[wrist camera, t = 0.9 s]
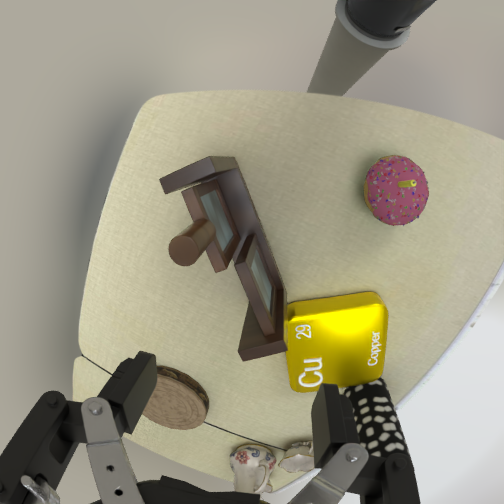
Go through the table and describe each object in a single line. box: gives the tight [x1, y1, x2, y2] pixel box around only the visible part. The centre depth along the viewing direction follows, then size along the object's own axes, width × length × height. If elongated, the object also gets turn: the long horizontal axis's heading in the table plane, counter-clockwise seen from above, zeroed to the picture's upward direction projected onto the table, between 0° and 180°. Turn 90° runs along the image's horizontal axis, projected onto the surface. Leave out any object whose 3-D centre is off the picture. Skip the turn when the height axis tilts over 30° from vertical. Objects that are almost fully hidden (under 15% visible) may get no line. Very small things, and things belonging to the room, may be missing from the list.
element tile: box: [285, 292, 388, 393], centre depth 40 cm, size 15×15×5 cm
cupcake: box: [364, 155, 429, 226], centre depth 29 cm, size 9×8×12 cm
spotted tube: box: [344, 378, 414, 468], centre depth 36 cm, size 8×8×20 cm
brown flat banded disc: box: [142, 366, 209, 430], centre depth 49 cm, size 16×16×3 cm
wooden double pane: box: [159, 156, 288, 361], centre depth 32 cm, size 20×5×14 cm, turn 21°
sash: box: [169, 179, 241, 273], centre depth 28 cm, size 8×2×16 cm, turn 21°
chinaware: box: [230, 441, 314, 500], centre depth 48 cm, size 28×17×17 cm, turn 154°
